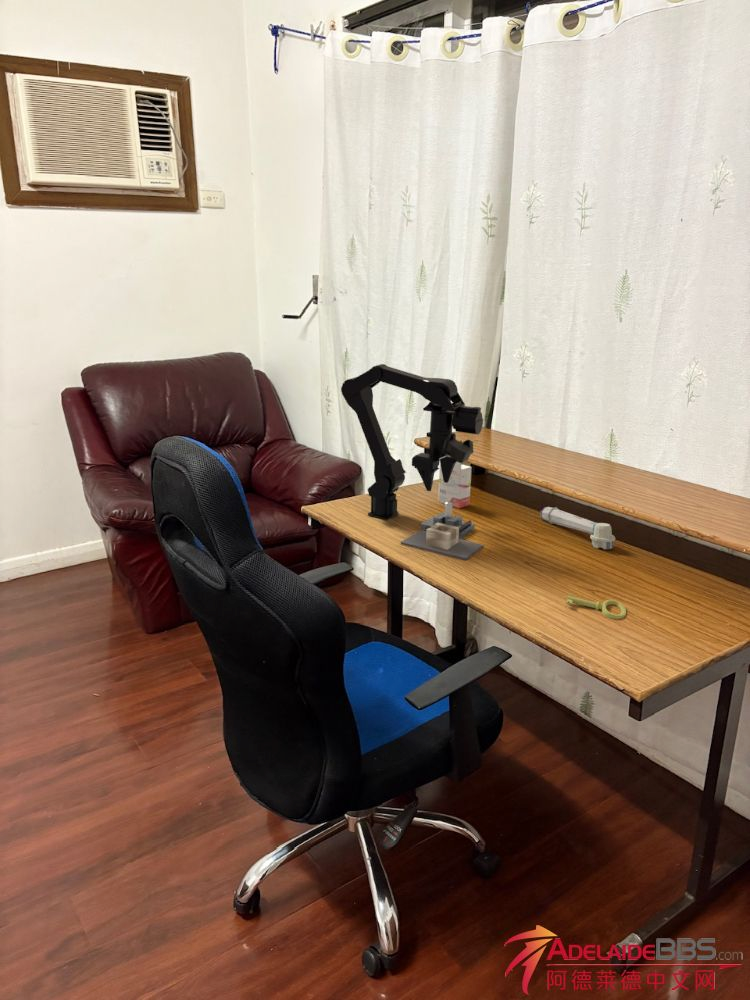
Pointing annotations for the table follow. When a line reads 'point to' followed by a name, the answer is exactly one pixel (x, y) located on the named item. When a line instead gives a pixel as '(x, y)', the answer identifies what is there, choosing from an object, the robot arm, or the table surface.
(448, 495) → the ink cartridge box
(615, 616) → the key
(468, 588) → the table surface
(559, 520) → the grey pipe fitting
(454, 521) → the vise
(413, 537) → the charcoal mat
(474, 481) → the table surface
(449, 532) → the collar
